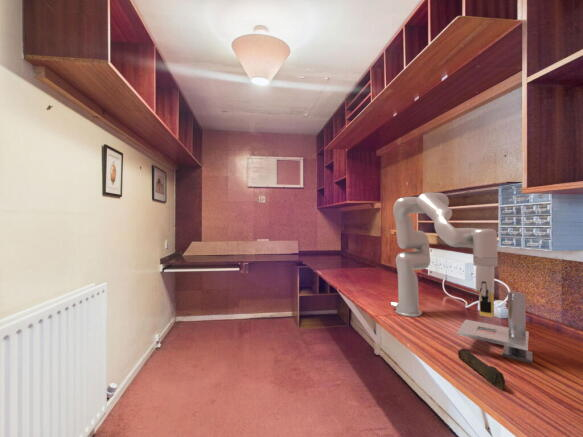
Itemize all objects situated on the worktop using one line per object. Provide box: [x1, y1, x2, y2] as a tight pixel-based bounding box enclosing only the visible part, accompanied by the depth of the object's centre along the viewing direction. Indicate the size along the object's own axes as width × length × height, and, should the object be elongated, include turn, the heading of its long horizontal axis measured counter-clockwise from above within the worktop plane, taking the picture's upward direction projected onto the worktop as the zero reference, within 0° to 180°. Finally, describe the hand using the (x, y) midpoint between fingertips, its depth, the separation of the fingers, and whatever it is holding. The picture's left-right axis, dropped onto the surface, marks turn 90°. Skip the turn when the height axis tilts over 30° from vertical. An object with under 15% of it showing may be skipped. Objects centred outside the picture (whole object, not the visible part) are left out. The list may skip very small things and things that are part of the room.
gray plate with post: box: [457, 291, 533, 364], centre depth 104 cm, size 21×16×22 cm
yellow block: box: [478, 290, 495, 318], centre depth 105 cm, size 4×4×9 cm
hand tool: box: [457, 347, 506, 392], centre depth 89 cm, size 19×4×4 cm, turn 177°
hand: (486, 310), depth 105 cm, fingers closed on yellow block, 4 cm apart
